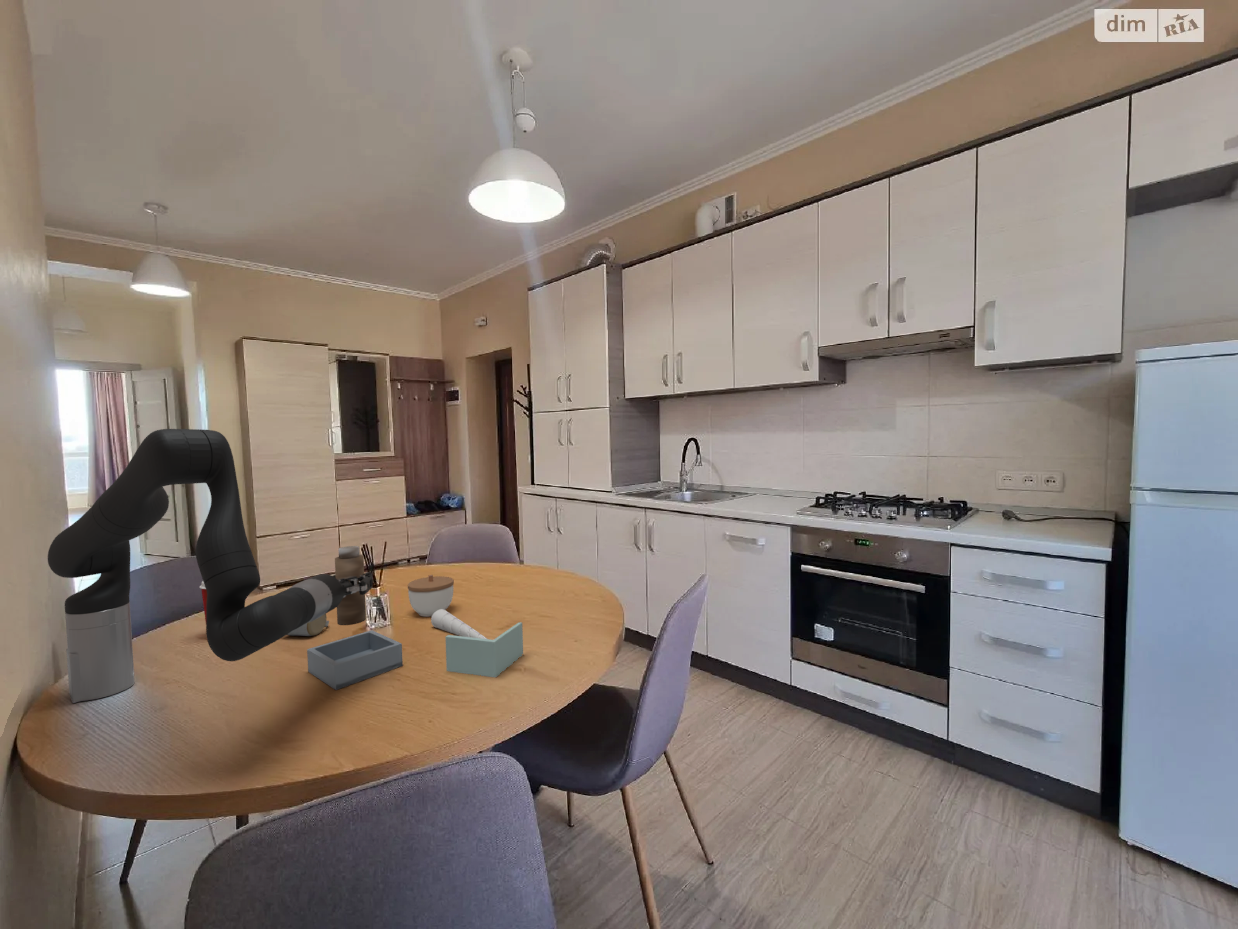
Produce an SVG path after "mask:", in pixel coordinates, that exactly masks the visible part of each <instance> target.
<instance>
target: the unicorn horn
mask: <svg viewBox="0 0 1238 929" xmlns="http://www.w3.org/2000/svg"><path fill="white" fill-rule="evenodd" d="M430 620H431V625H432V626H433V627H434V628H436V629H439V630H442V631H445V632H448V633H451V634H453V635H455V636H463V637H472V638H481V639H488V638H487V637H485V636H484V635H483V634H481V633H480V632H479V631H477V630H476V629H474V628H473V627H471V626H470V625H469V624H467V623H465V622H464V621H462V620H461V619H459V618H458V617H456V616H455V615H453V614H452V613H451V612H449V611H447V609H446V610H444V609H440V610H437V611H436V612H434V614H433V615H432V616H431V618H430Z"/></svg>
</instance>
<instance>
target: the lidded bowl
mask: <svg viewBox="0 0 1238 929" xmlns="http://www.w3.org/2000/svg"><path fill="white" fill-rule="evenodd" d="M407 589H408V591H407V592H408V599H409V603H410V607H411V608H412V609H413V610H414V611H415V612H416V613H417V614H418V616H420V617H423V618H425V617H427V618H428V617H432V615H433V614H434V612H436V611H437V610H440V609H444V610H446V611H447V609H448V608H449V607H450V605H451V603H452V601H453V596H454V578H452V577H449V576H445V575H442V576H438V575H437V576H434V575H433V574H428V576H427V577H421V578H417V579H414V580H411V581H409V583H407Z"/></svg>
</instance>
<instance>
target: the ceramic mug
mask: <svg viewBox="0 0 1238 929" xmlns="http://www.w3.org/2000/svg"><path fill="white" fill-rule="evenodd" d="M327 618H328V617H327V613H326V614H324V615H323V616H321V617H319V618H317V619H315V620H314V621H311V622H309V623H306V624H304V625H302V626H301V627H299V628H297V629H295V630H293V631H291V632H290V633H288V634H287V635H286V636H295V637H296V636H297V637H299V636H303V637H313V636H317V635H319V634H320V633H321V632H322V631H323V630H324V629H325V627H328V626H329V623H330V621H329V620H327Z"/></svg>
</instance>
